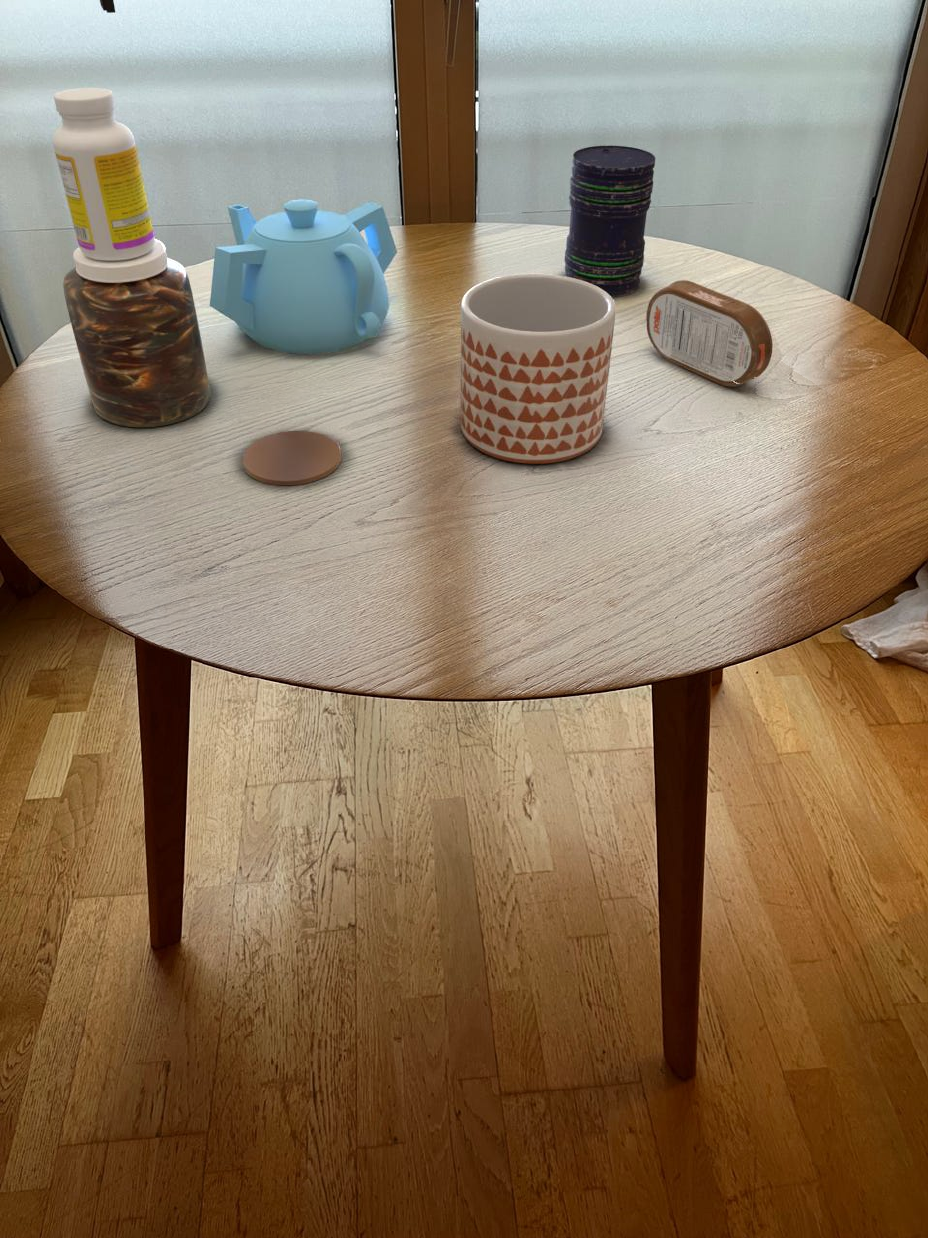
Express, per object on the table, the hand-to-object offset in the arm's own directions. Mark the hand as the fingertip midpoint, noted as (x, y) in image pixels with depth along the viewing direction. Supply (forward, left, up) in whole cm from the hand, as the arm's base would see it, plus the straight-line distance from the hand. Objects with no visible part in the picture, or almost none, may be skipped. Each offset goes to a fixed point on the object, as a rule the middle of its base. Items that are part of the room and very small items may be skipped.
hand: (31, 12), depth 62 cm
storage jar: (+59, +30, -36) cm, 75 cm away
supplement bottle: (+2, +16, -21) cm, 27 cm away
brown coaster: (+13, 0, -36) cm, 38 cm away
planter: (+36, -2, -36) cm, 51 cm away
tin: (+58, +4, -36) cm, 68 cm away
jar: (+2, +16, -36) cm, 40 cm away
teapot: (+21, +29, -36) cm, 51 cm away
